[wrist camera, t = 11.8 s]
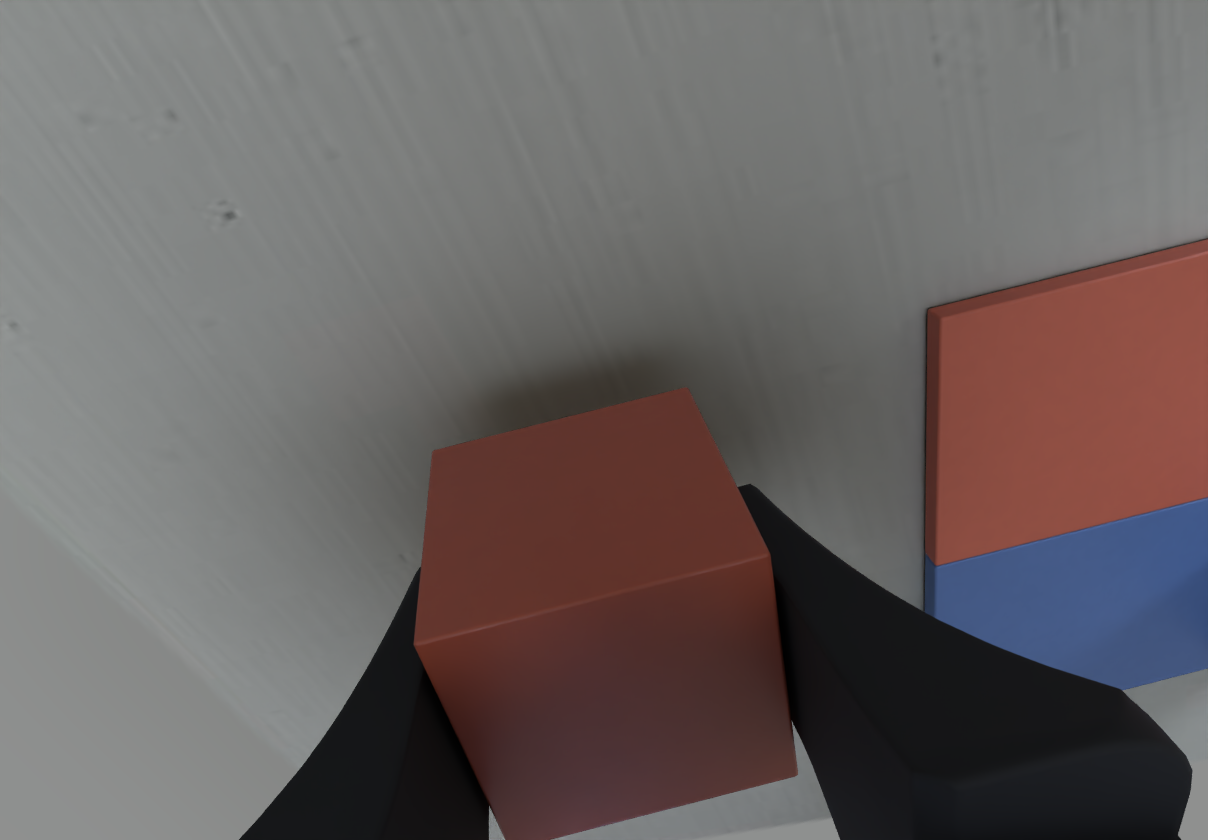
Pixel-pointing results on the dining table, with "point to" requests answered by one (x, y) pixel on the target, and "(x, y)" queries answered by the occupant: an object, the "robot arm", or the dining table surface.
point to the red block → (602, 619)
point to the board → (1075, 468)
